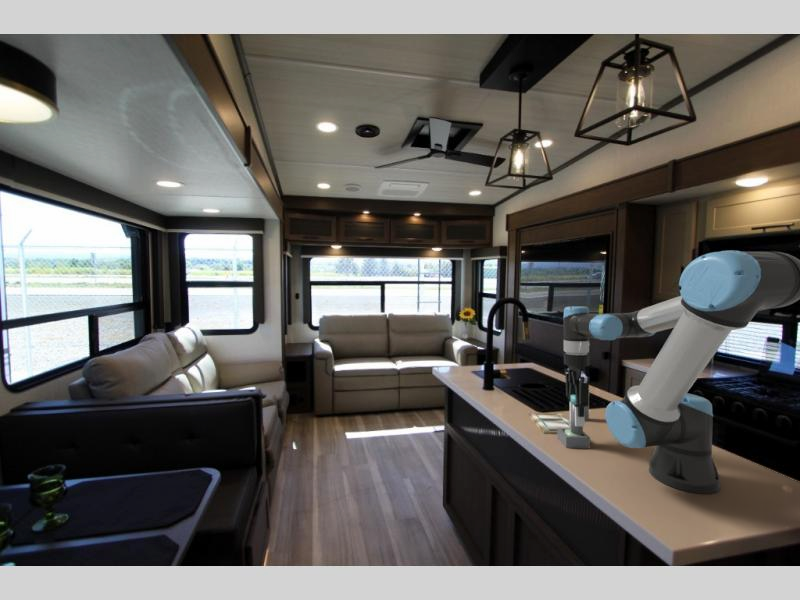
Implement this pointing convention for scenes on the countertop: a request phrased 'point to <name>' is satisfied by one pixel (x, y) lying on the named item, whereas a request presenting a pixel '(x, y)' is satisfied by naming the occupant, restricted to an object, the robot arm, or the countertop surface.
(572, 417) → the teal marker
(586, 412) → the ochre marker
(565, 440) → the button housing
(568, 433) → the button
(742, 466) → the countertop surface
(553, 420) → the double window tray
